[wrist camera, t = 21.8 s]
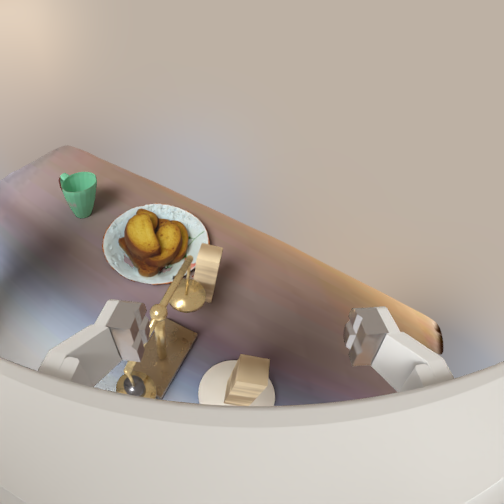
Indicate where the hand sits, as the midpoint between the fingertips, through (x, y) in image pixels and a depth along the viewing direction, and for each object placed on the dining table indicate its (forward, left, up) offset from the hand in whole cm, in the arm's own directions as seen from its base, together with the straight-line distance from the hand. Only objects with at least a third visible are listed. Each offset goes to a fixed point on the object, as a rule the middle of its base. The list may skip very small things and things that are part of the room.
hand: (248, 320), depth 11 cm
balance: (+2, +16, -39) cm, 42 cm away
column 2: (+10, +3, -37) cm, 39 cm away
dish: (+10, +4, -39) cm, 40 cm away
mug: (-5, +64, -39) cm, 75 cm away
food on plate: (+11, +43, -39) cm, 59 cm away
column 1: (+16, +26, -39) cm, 49 cm away
